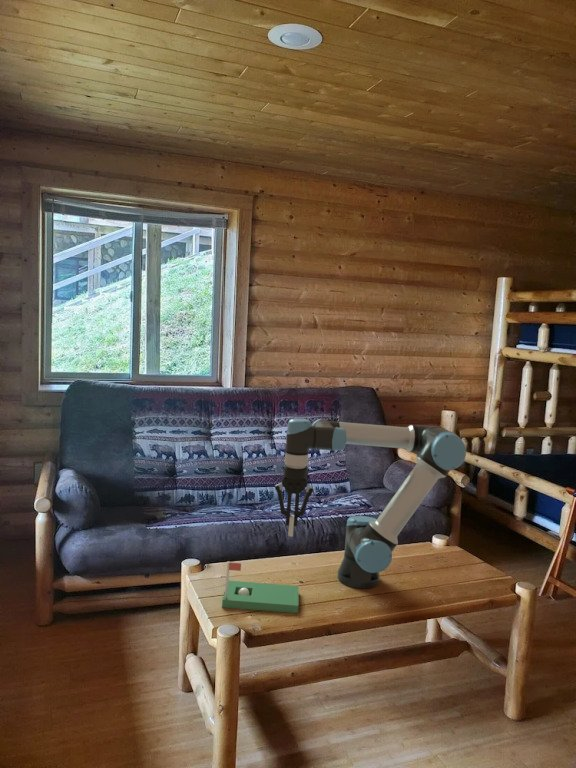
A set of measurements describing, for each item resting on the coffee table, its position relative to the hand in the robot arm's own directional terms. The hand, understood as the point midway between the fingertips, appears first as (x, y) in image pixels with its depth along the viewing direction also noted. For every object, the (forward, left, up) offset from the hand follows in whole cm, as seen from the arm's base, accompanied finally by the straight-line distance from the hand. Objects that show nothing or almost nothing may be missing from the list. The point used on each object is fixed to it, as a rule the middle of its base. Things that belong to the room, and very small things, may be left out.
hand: (290, 534), depth 196 cm
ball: (+14, +6, -19) cm, 24 cm away
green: (+8, +6, -20) cm, 23 cm away
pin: (+17, +12, -18) cm, 28 cm away
